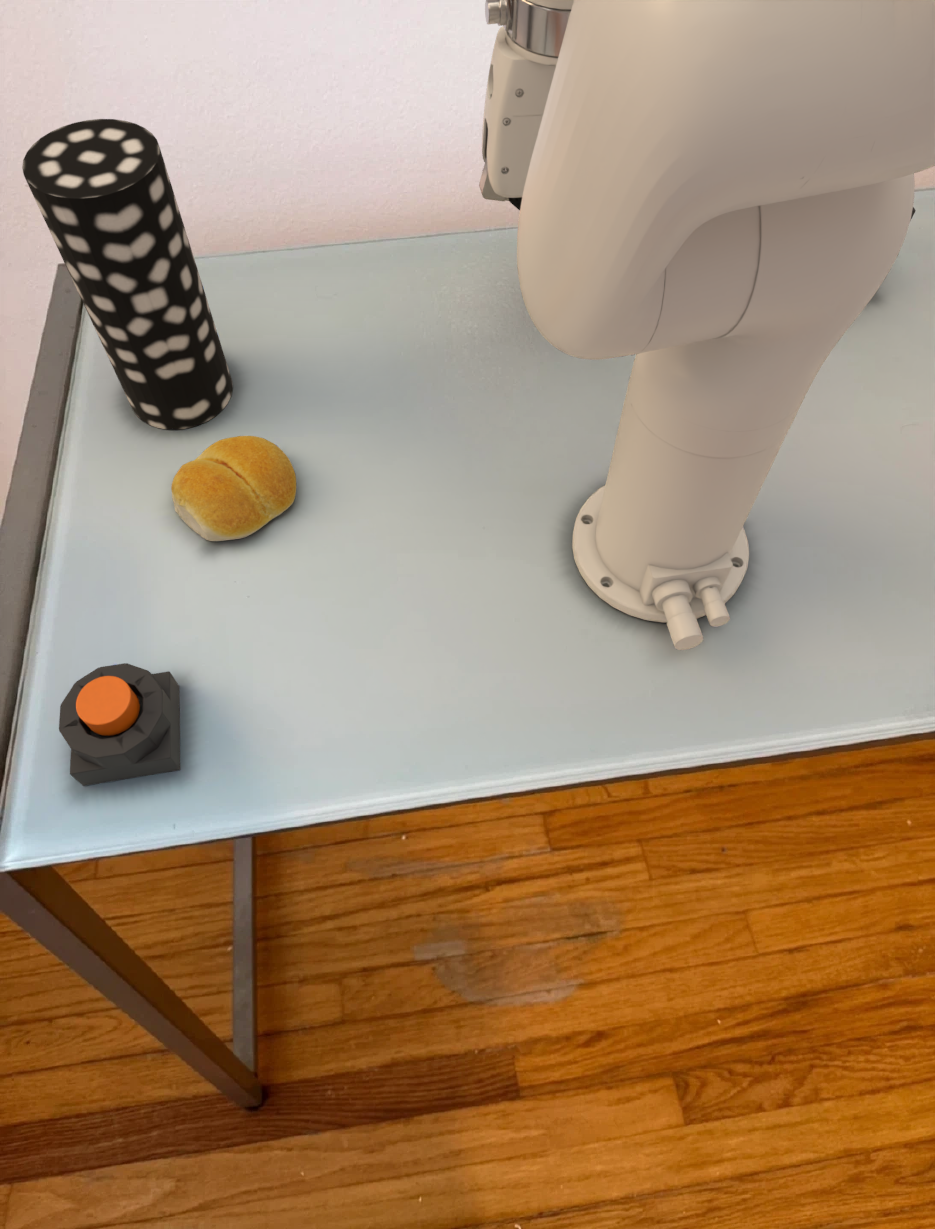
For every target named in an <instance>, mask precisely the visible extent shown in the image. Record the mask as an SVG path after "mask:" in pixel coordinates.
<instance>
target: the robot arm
mask: <svg viewBox="0 0 935 1229" xmlns="http://www.w3.org/2000/svg"><path fill="white" fill-rule="evenodd" d="M484 14H485V22H486V25H497V26H498V27H500V26H501V27H500V28H498V30H497V33H496V37H495V41H494V45H493V49H492V54H491V60H490V65H489V71H488V76H487V84H486V89H485V90H486V91H485V98H484V107H483V108H484V109H483V117H482V118H483V119H482V130H481V131H482V132H481V156H482V160H483V162H484V165H483V167H482V172H481V176H480V179H479V184H478V187H479V190H480V192H481V196H482V198H483V199H485V200H487V201H488V200H489V201H497V202H506V201H507V202H509V203H510V204H511V205H513V206H514V207H515V208H516V209H517V210H518V211H519V213H518V220H517V221H518V222H517V233H516V236H517V237H516V266H517V276H518V282H519V288H520V292H521V296H522V300H523V304H524V306H525V309H526V311H527V313H528V316H529V317H530V319H531V321H532V323H533V325H534V327H535V328H536V329H537V331H538V332H539V334H540V335H541V336H542V337H543V338H544V339H545V340H546V341H547V342H548V343H549V344H550V345H551V346H553V347H554V348H556V349H557V350H558V351H560V352H561V353H564V354H565V355H568V356H570V357H573V358H577V359H583V360H598V361H599V360H608V359H615V358H621V357H627V356H632V355H635V357H634V359H633V363H632V368H631V372H630V376H629V379H628V384H627V388H626V391H625V396H624V400H623V406H622V409H621V414H620V418H619V423H618V427H617V432H616V435H615V436H616V437H615V441H614V446H613V451H612V454H611V459H610V462H609V466H608V471H607V477H606V481H605V485H603V486H601V487H599V488H598V489H597V490H595V491H594V492H593V493H592V494H591V495H590V496H589V497H588V498H587V499H586V501H585V502H583V505H582V506H581V507H580V509H579V511H578V513H577V516H576V518H575V522H574V525H573V526H574V527H573V530H572V541H571V542H572V543H571V549H572V555H573V560H574V562H575V564H576V567H577V570H578V573H579V574H580V576H581V577H582V579H583V580H584V582H585V583H586V585H587V586H588V587H589V589H591V590H592V591H593V593H594V594H596V595H597V597H599V599H601V600H602V601H604V602H605V603H606V604H608V605H609V606H610V607H612V608H614V609H616V610H618V611H619V612H622V613H624V614H626V615H628V616H631V617H635V618H637V619H641V620H644V621H648V622H649V621H650V622H656V623H666V626H667V629H668V632H669V635H670V638H671V641H672V644H673V646H674V648H675V649H676V650H678V651H687V650H690V649H694V648H696V647H698V646H699V645H701V644H702V642H704V636H703V633H702V630H701V628H700V625H699V622H698V619H700V618H703V617H704V616H706V618H707V621H708V624H709V626H710V627H712V628H714V627H717V628H718V627H721V626H723V625H726V624H728V623H729V622H730V621H731V616H730V614H729V611H728V609H727V606H726V603H728V601H730V599H731V598H733V596H735V594H736V592H737V590H738V589H739V587H740V585H741V584H742V582H743V579H744V577H745V575H746V573H747V571H748V566H749V560H750V547H749V540H748V537H747V533H746V531H745V528H744V526H745V524H746V521H747V519H748V517H749V515H750V513H751V510H752V508H753V506H754V505H755V502H756V500H757V498H758V495H759V494H760V492H761V489H762V487H763V485H764V483H765V481H766V479H767V477H768V475H769V473H770V471H771V468H772V466H773V464H774V462H775V460H776V457H777V456H778V453H779V451H780V449H781V447H782V445H783V443H784V441H785V438H786V437H787V434H788V432H789V430H790V429H791V427H792V424H793V423H794V420H795V418H796V416H797V414H798V412H799V411H800V408H801V406H802V404H803V402H804V400H805V398H806V396H807V394H808V391H809V390H810V388H811V386H812V384H813V382H814V380H815V379H816V377H817V375H818V373H819V372H820V370H821V368H822V366H823V365H824V363H825V362H826V360H827V358H828V357H829V356H830V354H831V352H832V351H833V350H834V348H835V347H836V345H837V344H838V342H840V341H841V338H842V337H843V336H844V335H845V334H846V332H847V331H848V330H849V328H850V327H851V326H852V325H853V323H854V322H855V321H856V320H857V318H858V317H859V316H860V315H861V313H862V312H863V311H864V310H865V308H866V307H867V305H868V304H869V303H870V301H871V300H872V298H874V296H875V295H876V293H877V292H878V291H879V288H880V287H881V286H882V284H883V283H884V281H885V279H886V278H887V276H888V274H890V271H891V269H892V267H893V266H894V264H895V262H896V260H897V258H898V256H899V254H900V252H901V249H902V247H903V244H904V242H905V241H906V237H907V233H908V231H909V227H910V223H911V221H912V219H911V215H912V209H913V207H914V203H915V191H916V189H915V188H916V187H915V186H916V180H915V174H917V173H920V172H923V171H926V170H928V169H931V168H933V167H935V0H485V2H484ZM910 220H911V221H910Z"/></svg>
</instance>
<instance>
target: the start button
mask: <svg viewBox="0 0 935 1229" xmlns="http://www.w3.org/2000/svg"><path fill="white" fill-rule="evenodd" d="M139 710H140V703H139V700H138V698H137V696H136V695H135V693H134V692H133V691H132V689H131V688H130V687H129V685H128V684H127V683H126V682H125V681H124V680H122V679H121V678H118V677H115V676H103V677H99V678H96V679H94V680H92V681H90V682H89V683H88V684H86V685H85V686H84V687H83V688H82V690H81V691H80V693H79V695H78V697H77V700H76V711H77V714H78V715H79V717H80V718H81V719H82V720H83V721H84V723H85V724H86V725H87V726H88V727H89V728H90V729H91V730H92V731H94V732H95V733H97V734H100V735H104V736H111V735H116V734H119V733H121V732H123V731H125V730H127V729H128V728H129V727H130V726H131V725H132V724H133V723H134V722H135V720H136V719H137V717H138V714H139Z"/></svg>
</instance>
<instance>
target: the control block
mask: <svg viewBox="0 0 935 1229" xmlns="http://www.w3.org/2000/svg"><path fill="white" fill-rule="evenodd" d="M103 676H115V677H118V678H121V679H122V680H124V681H125V682H126V683H127V684H128V685H129V687H130V688H131V689H132V691H133V692H134V693H135V695H136V696H137V698H138V700H139V703H140V710H139V714H138V717H137V719H136V720H135V722H134V723H133V724H132V725H131V726H130V727H129V728H128V729H127V730H125V731H123V732H121V733H119V734H116V735H111V736H104V735H100V734H97V733H95V732H94V731H92V730H91V729H90V728H89V727H88V726H87V725H86V724H85V723H84V721H83V720H82V719H81V718H80V717H79V715H78V714H77V711H76V700H77V697H78V695H79V693H80V691H81V690H82V688H83V687H84V686H85V685H86V684H88V683H89V682H90V681H92V680H94V679H96V678H99V677H103ZM180 701H181V700H180V685H179V683H178V681H177V680H176V679H175V677H174V676H173V674H172V673H171V671H164V672H157V673H156V672H155V673H152V672H150V671H149V670H148V669H145V668H143V667H139V666H137V665H134V664H130V663H127V662H126V663H119V664H112V665H105V666H100V667H97V668H95V669H94V670H92V671H91V672H89V673H88V674H86V675H85V676H82V677H81V678H80V679H78V680H76V681H75V682H74V683H73V685H72V686H71V688H70V690H69V691H68V692H67V694H66V696H65V697H64V699H63V700H62V702H61V703H60V706H59V720H58V731H59V734H61V736H62V737H63V740H65V742H66V743H67V745H68V746H69V748H70V759H69V760H70V763H69V775H70V776H71V777H72V778H74V779H75V780H76V781H77V782H78V783H79V784H80V785H81V786H83V787H87V786H92V785H98V784H105V783H110V782H116V781H122V780H128V779H129V780H130V779H135V778H140V777H147V776H153V775H158V774H165V773H171V772H178V771H180V770H181V715H180V714H181V712H180V708H181V707H180V705H181V704H180Z"/></svg>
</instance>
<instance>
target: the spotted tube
mask: <svg viewBox="0 0 935 1229" xmlns="http://www.w3.org/2000/svg"><path fill="white" fill-rule="evenodd" d="M21 168H22V173H23V177H24V179H25V181H26V183H27V185H28V187H29V190H30V192H31V194H32V196H33V199H34V200H35V203H36V205H37V206H38V209H39V211H40V213H41V216H42V218H43V219H44V222H45V224H46V226H47V228H48V230H49V233H50V235H51V237H52V240H53V241H54V243H55V245H56V248H57V250H58V252H59V254H60V256H61V258H62V261H63V263H64V265H65V267H66V270H67V272H68V274H69V276H70V278H71V280H72V283H73V284H74V287H75V289H76V291H77V293H78V295H79V297H80V300H81V301H82V304H83V306H84V308H85V311H86V312H87V315H88V316H89V319H90V322H91V323H92V325H93V328H94V330H95V332H96V334H97V337H98V339H99V340H100V343H101V345H102V347H103V349H104V352H105V353H106V356H107V358H108V360H109V362H110V365H111V367H112V369H113V371H114V373H115V375H116V377H117V380H118V382H119V383H120V386H121V388H122V390H123V393H124V394H125V396H126V399H127V402H128V403H129V405H130V407H131V409H132V411H133V413H134V414H135V415H136V416H137V418H139V420H141V421H142V422H143V423H145V424H147V425H149V426H151V427H154V428H158V429H163V430H173V431H174V430H186V429H190V428H194V427H197V426H200V425H202V424H205V423H207V422H208V421H210V420H212V419H214V418H216V416H218V415H219V414H220V413H221V412H222V411H223V410H224V409H225V408H226V406H227V405H228V404H229V401H230V399H231V398H232V395H233V390H234V385H233V378H232V376H231V373H230V372H231V371H230V368H229V366H228V363H227V359H226V356H225V353H224V350H223V346H222V344H221V340H220V337H219V334H218V330H217V327H216V324H215V321H214V317H213V314H212V311H211V308H210V304H209V302H208V299H207V295H206V292H205V289H204V285H203V282H202V279H201V276H200V273H199V269H198V267H197V263H196V259H195V257H194V253H193V250H192V247H191V244H190V240H189V238H188V234H187V230H186V228H185V224H184V220H183V218H182V214H181V211H180V209H179V205H178V202H177V198H176V196H175V192H174V188H173V185H172V182H171V178H170V176H169V172H168V170H167V166H166V163H165V160H164V157H163V153H162V150H161V147H160V144H159V142H158V139H157V138H156V136H155V135H154V134H153V133H152V132H151V131H150V130H148V129H147V128H146V127H144V126H142V125H139V124H137V123H135V122H131V121H128V120H123V119H115V118H96V119H87V120H81V121H77V122H76V121H75V122H72V123H69V124H66V125H62V126H61V127H59V128H56V129H54V130H52V131H50V132H48V133H46V134H44V136H41V137H40V138H39V139H38V140H37V141H36V142H34V143H33V144H31V146H30V148H29V149H28V150H27V151H26V153H25V156H24V157H23V160H22V167H21Z"/></svg>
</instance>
